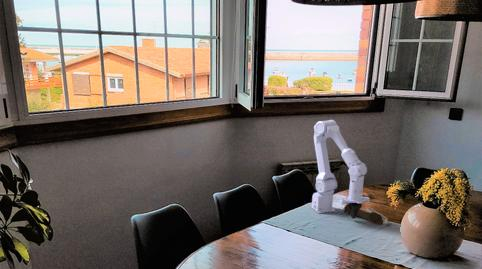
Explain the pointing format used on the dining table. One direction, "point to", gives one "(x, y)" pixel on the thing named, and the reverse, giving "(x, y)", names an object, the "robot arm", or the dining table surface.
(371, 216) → the hand tool
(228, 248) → the dining table surface
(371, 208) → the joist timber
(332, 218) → the dining table surface
